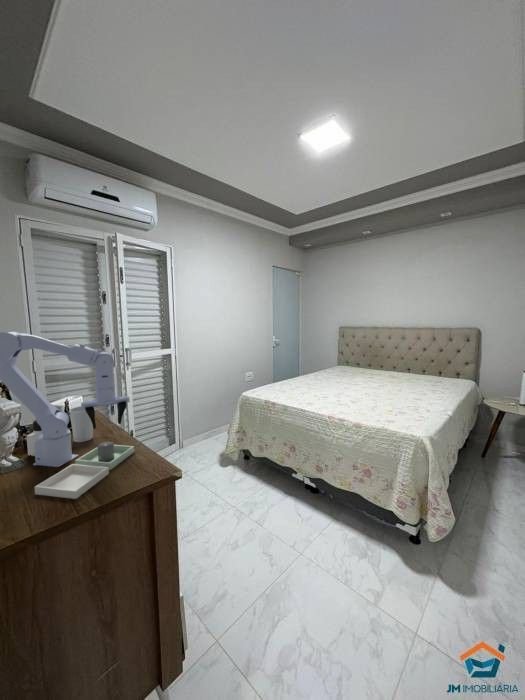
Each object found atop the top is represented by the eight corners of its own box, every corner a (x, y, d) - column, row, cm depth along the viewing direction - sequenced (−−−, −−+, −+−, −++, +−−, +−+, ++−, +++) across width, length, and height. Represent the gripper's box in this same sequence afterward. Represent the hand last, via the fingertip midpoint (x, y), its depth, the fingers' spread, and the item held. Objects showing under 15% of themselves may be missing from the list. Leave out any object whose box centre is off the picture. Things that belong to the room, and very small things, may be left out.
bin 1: (35, 496, 72) (34, 486, 72) (73, 471, 84) (72, 463, 84) (75, 501, 70) (75, 491, 70) (108, 475, 82) (108, 467, 82)
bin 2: (75, 468, 86) (75, 460, 86) (103, 450, 98) (103, 443, 98) (110, 471, 84) (110, 463, 84) (134, 453, 96) (134, 446, 96)
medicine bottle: (44, 457, 93) (42, 423, 91) (27, 455, 94) (24, 421, 93) (64, 448, 100) (61, 416, 98) (47, 446, 101) (45, 414, 100)
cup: (66, 440, 106) (64, 410, 105) (86, 433, 113) (84, 404, 112) (80, 444, 103) (78, 413, 102) (100, 436, 110) (98, 407, 109)
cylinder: (94, 461, 89) (94, 446, 89) (106, 454, 93) (106, 440, 93) (106, 463, 88) (105, 448, 87) (117, 457, 92) (117, 442, 92)
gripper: (80, 392, 88) (83, 433, 89) (130, 386, 96) (132, 424, 98) (79, 388, 93) (81, 427, 95) (126, 383, 102) (128, 418, 103)
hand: (107, 425), depth 97 cm, fingers open, 7 cm apart
